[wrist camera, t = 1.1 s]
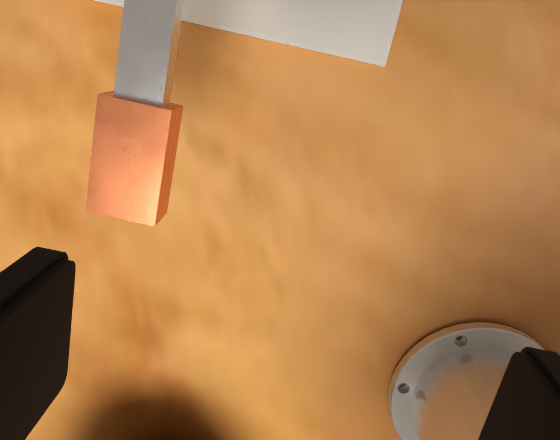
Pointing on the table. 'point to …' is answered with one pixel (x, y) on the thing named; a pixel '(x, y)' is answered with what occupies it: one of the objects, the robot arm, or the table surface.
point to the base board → (305, 23)
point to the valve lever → (138, 118)
